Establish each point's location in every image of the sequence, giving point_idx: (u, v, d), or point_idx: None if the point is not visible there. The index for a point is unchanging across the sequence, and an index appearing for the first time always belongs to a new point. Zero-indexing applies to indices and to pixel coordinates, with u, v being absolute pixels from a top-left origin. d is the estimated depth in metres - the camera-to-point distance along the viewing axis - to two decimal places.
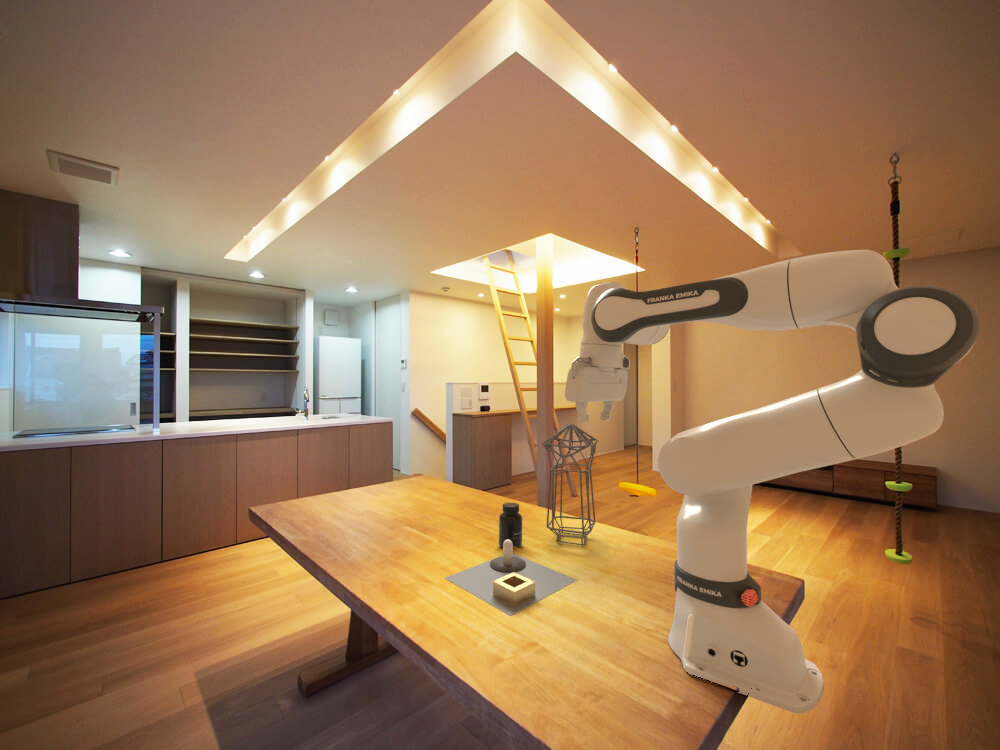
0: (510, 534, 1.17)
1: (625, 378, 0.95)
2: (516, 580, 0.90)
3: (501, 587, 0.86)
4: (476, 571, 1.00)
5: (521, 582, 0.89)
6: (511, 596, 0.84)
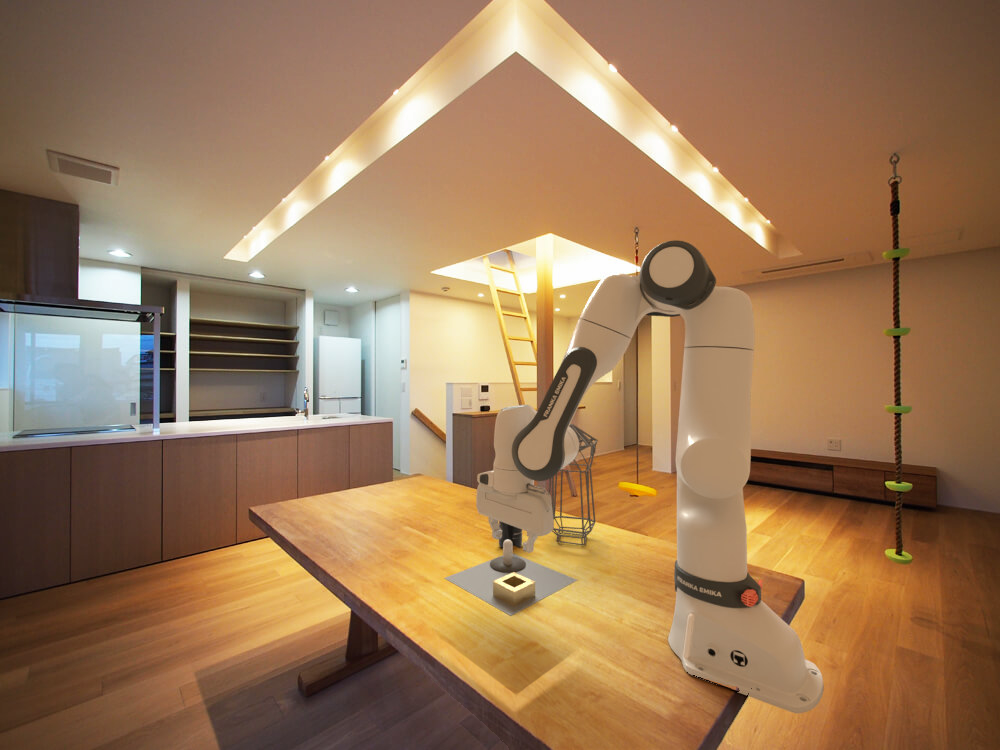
0: (510, 534, 1.17)
1: None
2: (516, 580, 0.90)
3: (501, 587, 0.86)
4: (476, 571, 1.00)
5: (521, 582, 0.89)
6: (511, 596, 0.84)
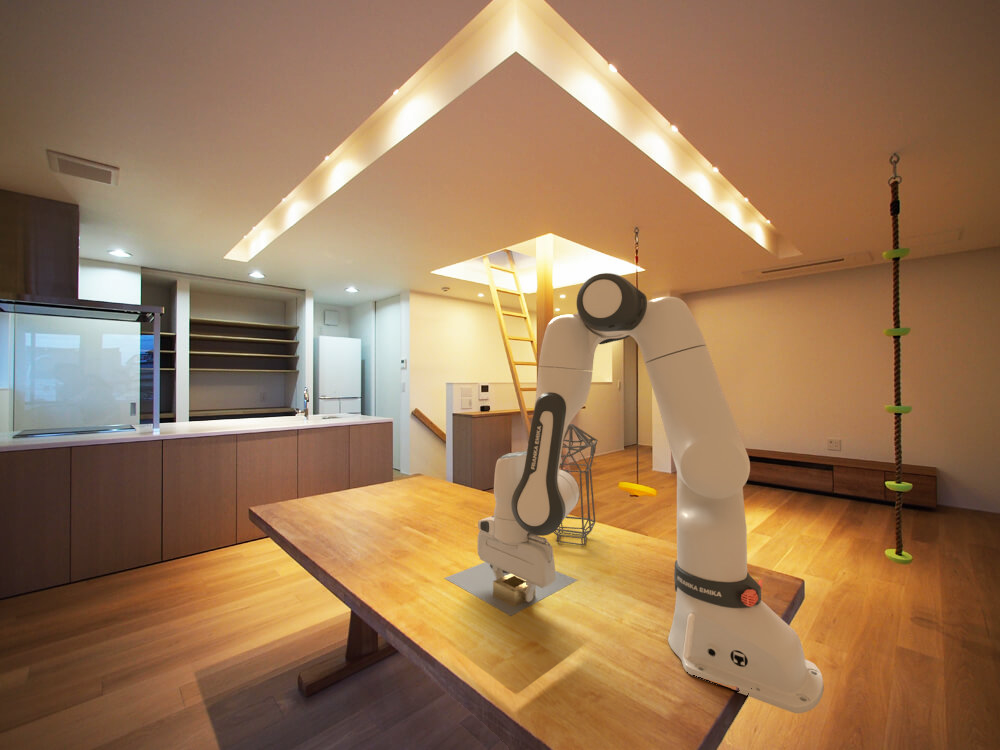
0: None
1: None
2: (516, 580, 0.90)
3: (501, 587, 0.86)
4: (476, 571, 1.00)
5: (521, 582, 0.89)
6: (511, 596, 0.84)
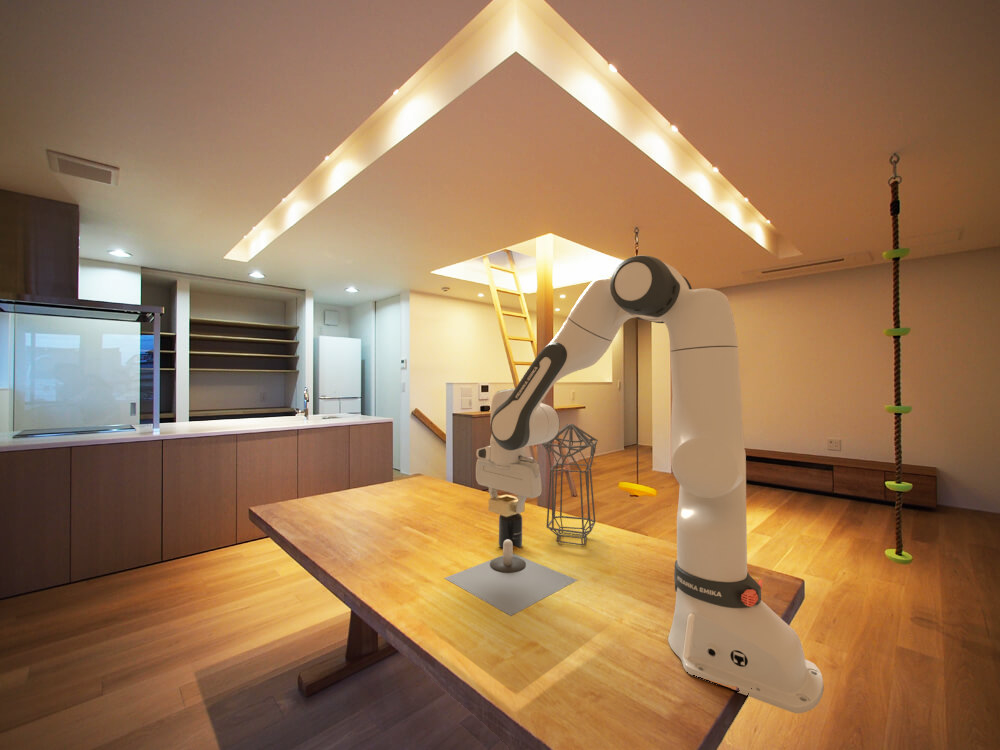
0: (510, 534, 1.17)
1: None
2: (508, 499, 1.06)
3: (495, 502, 1.02)
4: (476, 571, 1.00)
5: (513, 500, 1.05)
6: (504, 508, 1.00)
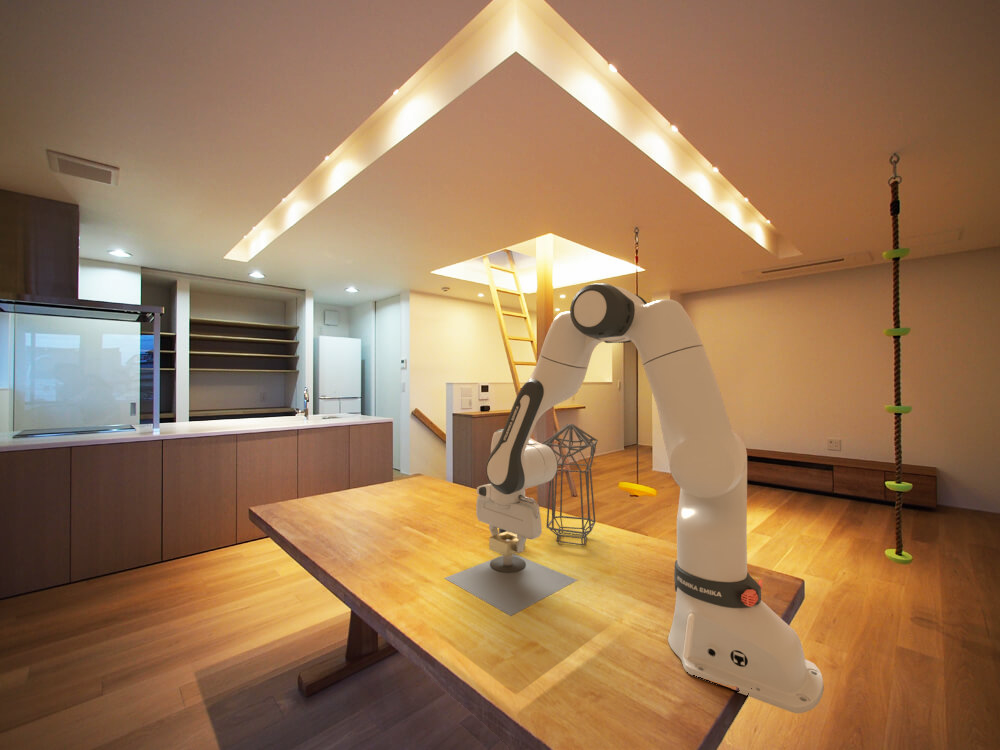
0: None
1: None
2: (509, 537, 1.06)
3: (496, 541, 1.02)
4: (476, 571, 1.00)
5: (513, 538, 1.05)
6: (504, 548, 1.00)
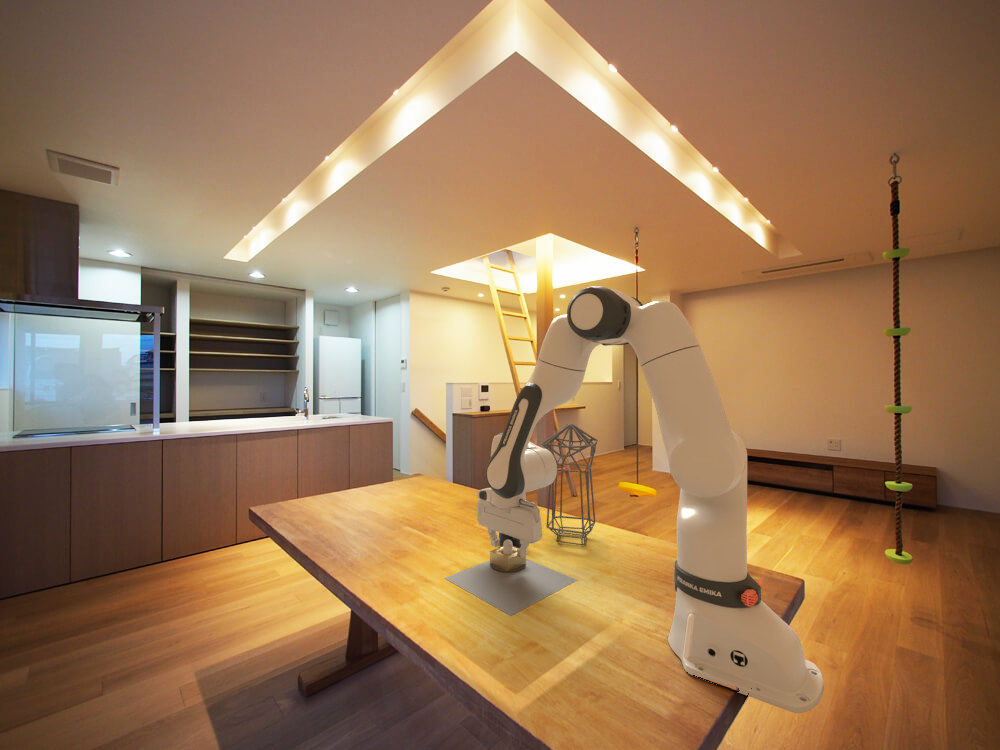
0: None
1: None
2: None
3: (497, 556, 1.02)
4: (476, 571, 1.00)
5: (514, 552, 1.05)
6: (505, 562, 1.00)
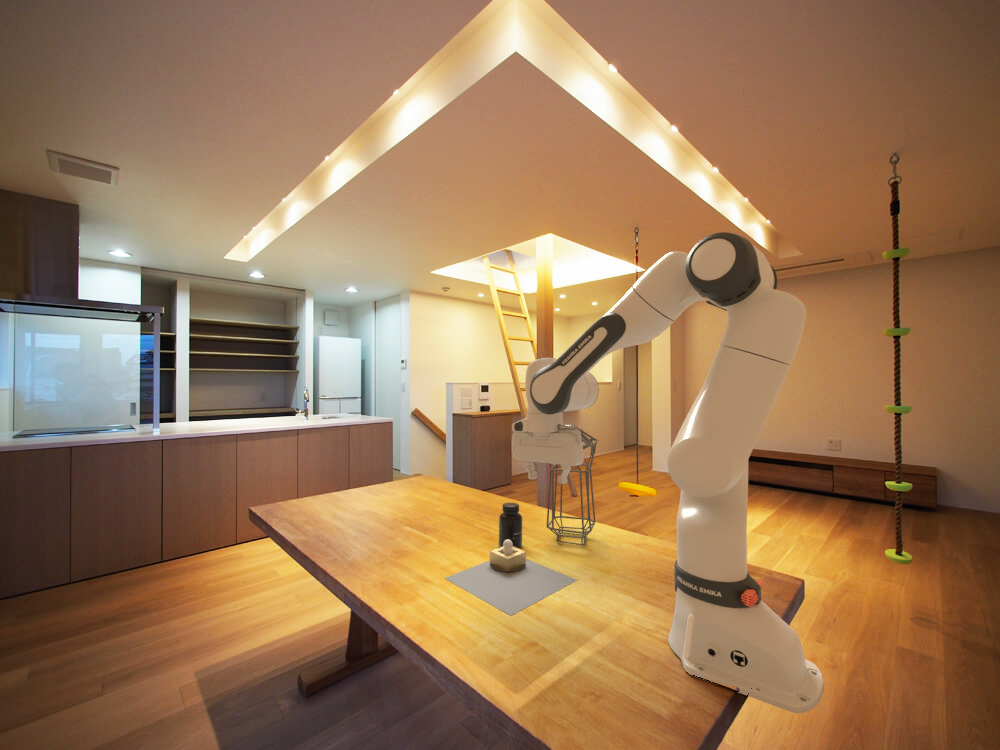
0: (510, 534, 1.17)
1: None
2: None
3: (497, 556, 1.02)
4: (476, 571, 1.00)
5: (514, 552, 1.05)
6: (505, 562, 1.00)
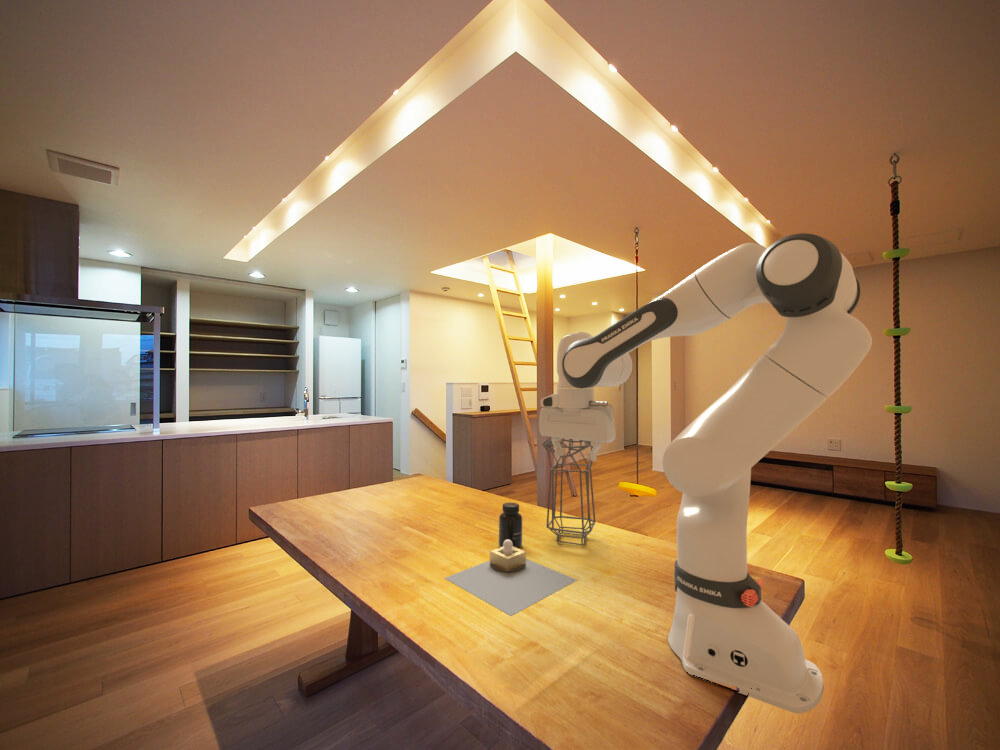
0: (510, 534, 1.17)
1: None
2: None
3: (497, 556, 1.02)
4: (476, 571, 1.00)
5: (514, 552, 1.05)
6: (505, 562, 1.00)
